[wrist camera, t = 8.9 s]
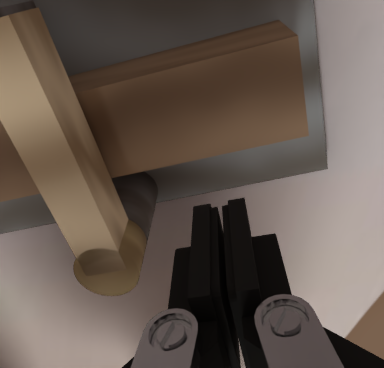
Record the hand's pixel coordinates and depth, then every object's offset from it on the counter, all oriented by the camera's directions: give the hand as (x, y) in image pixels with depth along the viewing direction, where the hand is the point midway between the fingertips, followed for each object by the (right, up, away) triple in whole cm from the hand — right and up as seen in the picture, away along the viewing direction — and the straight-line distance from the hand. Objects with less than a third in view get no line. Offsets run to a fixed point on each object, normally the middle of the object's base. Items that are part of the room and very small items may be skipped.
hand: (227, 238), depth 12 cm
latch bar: (-7, +3, +8) cm, 11 cm away
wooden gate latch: (-7, +7, +13) cm, 17 cm away
